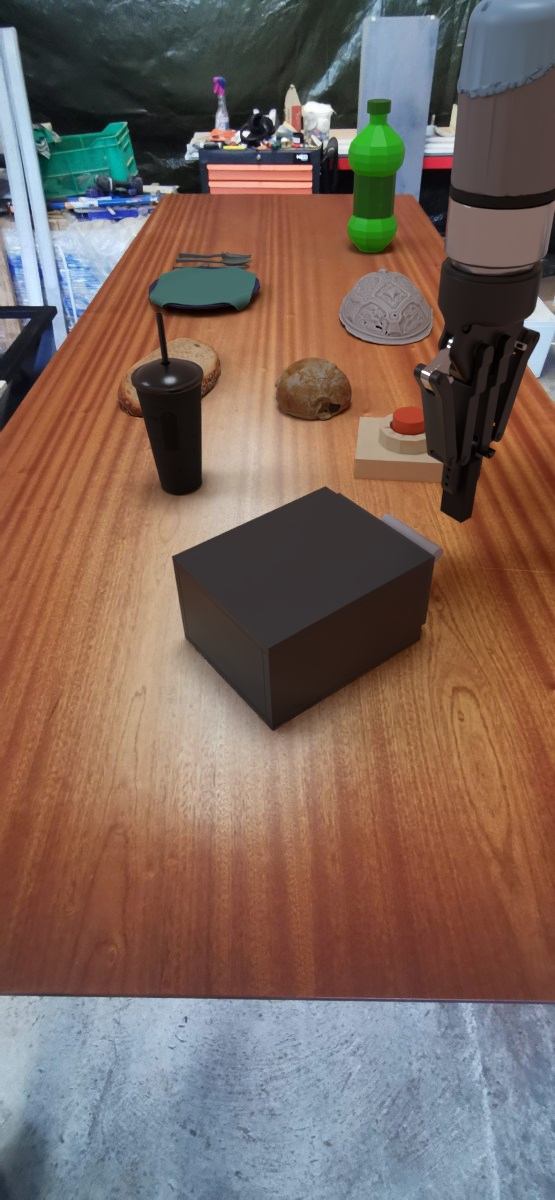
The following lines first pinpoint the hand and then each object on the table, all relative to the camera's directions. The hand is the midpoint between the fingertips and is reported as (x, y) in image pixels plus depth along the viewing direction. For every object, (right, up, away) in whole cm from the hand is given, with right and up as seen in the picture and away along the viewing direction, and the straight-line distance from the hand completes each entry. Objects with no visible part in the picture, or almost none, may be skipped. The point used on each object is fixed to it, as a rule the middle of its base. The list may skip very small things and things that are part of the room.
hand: (455, 513), depth 71 cm
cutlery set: (-30, +49, +64) cm, 86 cm away
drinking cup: (-29, +5, +16) cm, 33 cm away
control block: (-2, +9, +18) cm, 20 cm away
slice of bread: (-33, +23, +36) cm, 54 cm away
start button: (-2, +12, +15) cm, 19 cm away
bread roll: (-13, +18, +29) cm, 37 cm away
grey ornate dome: (+1, +39, +52) cm, 65 cm away
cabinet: (-15, -12, -4) cm, 20 cm away
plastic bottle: (+2, +63, +78) cm, 100 cm away
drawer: (-12, -10, -3) cm, 16 cm away
